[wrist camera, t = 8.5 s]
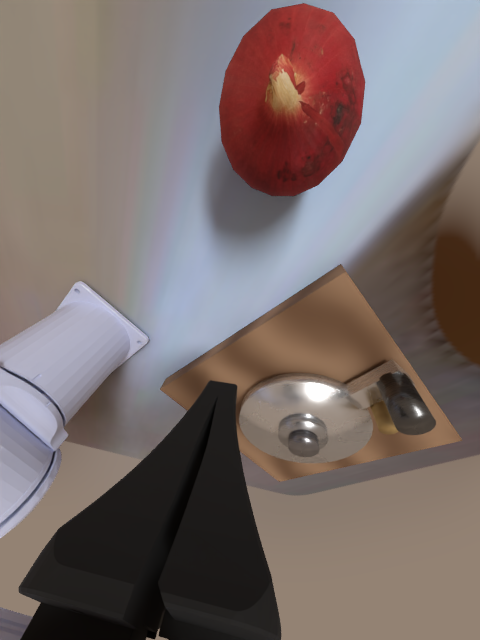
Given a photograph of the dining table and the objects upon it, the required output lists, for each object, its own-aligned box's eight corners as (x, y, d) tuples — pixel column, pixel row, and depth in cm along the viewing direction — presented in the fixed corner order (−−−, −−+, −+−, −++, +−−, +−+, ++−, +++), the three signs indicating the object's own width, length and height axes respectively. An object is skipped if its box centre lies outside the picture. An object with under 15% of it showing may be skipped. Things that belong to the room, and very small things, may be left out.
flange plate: (298, 463, 27) (301, 509, 23) (217, 411, 24) (205, 454, 20) (445, 406, 19) (485, 463, 15) (350, 318, 16) (370, 362, 12)
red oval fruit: (364, 83, 12) (477, -43, 5) (310, 205, 15) (333, 230, 8) (255, 39, 11) (214, -156, 5) (224, 172, 14) (173, 170, 8)
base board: (279, 469, 32) (278, 513, 28) (165, 378, 26) (143, 418, 22) (452, 425, 23) (490, 482, 19) (340, 264, 16) (360, 295, 12)
